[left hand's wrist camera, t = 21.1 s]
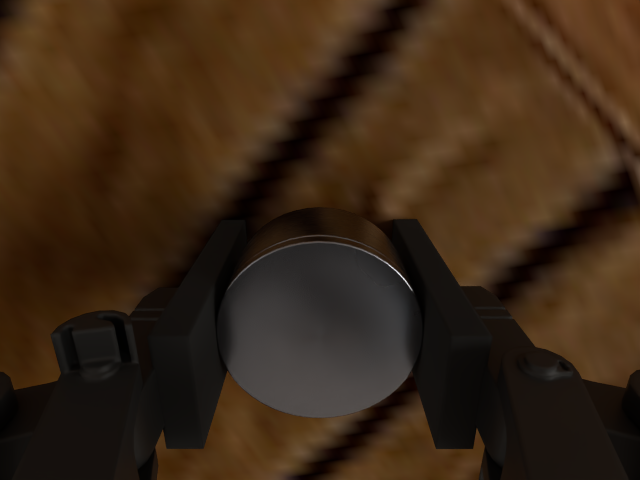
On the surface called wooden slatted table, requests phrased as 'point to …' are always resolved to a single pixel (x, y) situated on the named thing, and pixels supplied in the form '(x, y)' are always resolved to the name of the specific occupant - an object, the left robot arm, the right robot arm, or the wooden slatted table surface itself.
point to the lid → (319, 315)
